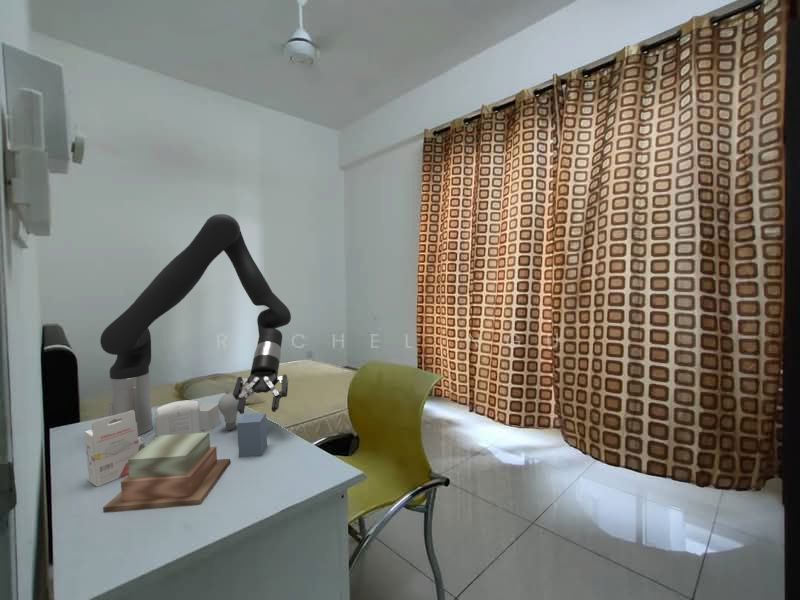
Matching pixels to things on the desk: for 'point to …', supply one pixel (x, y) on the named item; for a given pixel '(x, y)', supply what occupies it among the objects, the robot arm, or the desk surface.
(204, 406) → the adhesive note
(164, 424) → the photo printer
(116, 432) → the ink cartridge box
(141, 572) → the desk surface
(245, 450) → the slate brick
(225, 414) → the lightbulb
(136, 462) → the stepped tiered pedestal
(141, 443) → the game die
